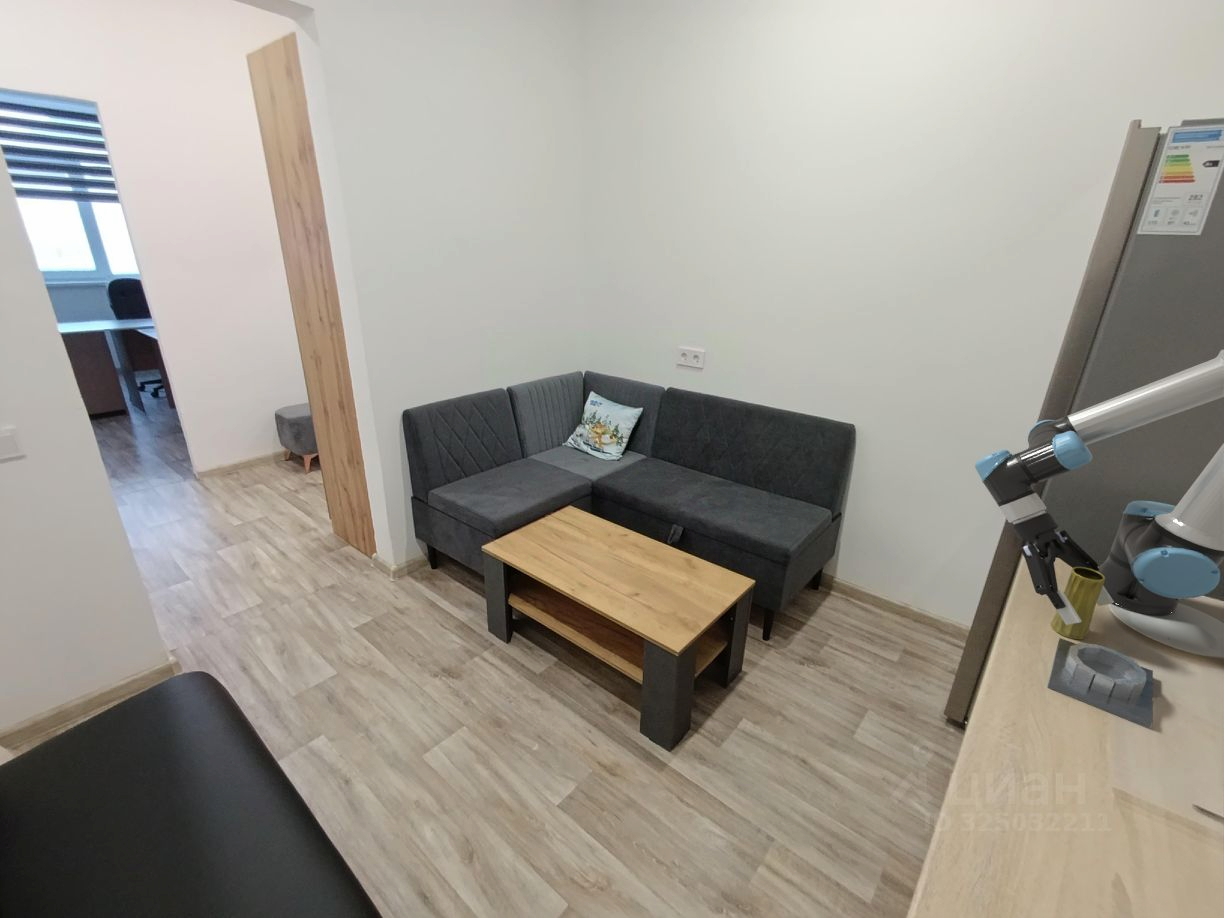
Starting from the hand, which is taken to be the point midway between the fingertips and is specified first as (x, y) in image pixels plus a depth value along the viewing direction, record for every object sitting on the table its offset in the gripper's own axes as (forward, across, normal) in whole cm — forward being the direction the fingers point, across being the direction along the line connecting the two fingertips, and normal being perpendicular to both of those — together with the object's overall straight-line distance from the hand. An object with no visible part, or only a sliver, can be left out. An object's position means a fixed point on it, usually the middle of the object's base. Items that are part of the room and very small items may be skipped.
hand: (1090, 613), depth 112 cm
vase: (+3, 0, -6) cm, 7 cm away
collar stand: (+10, +12, +1) cm, 15 cm away
